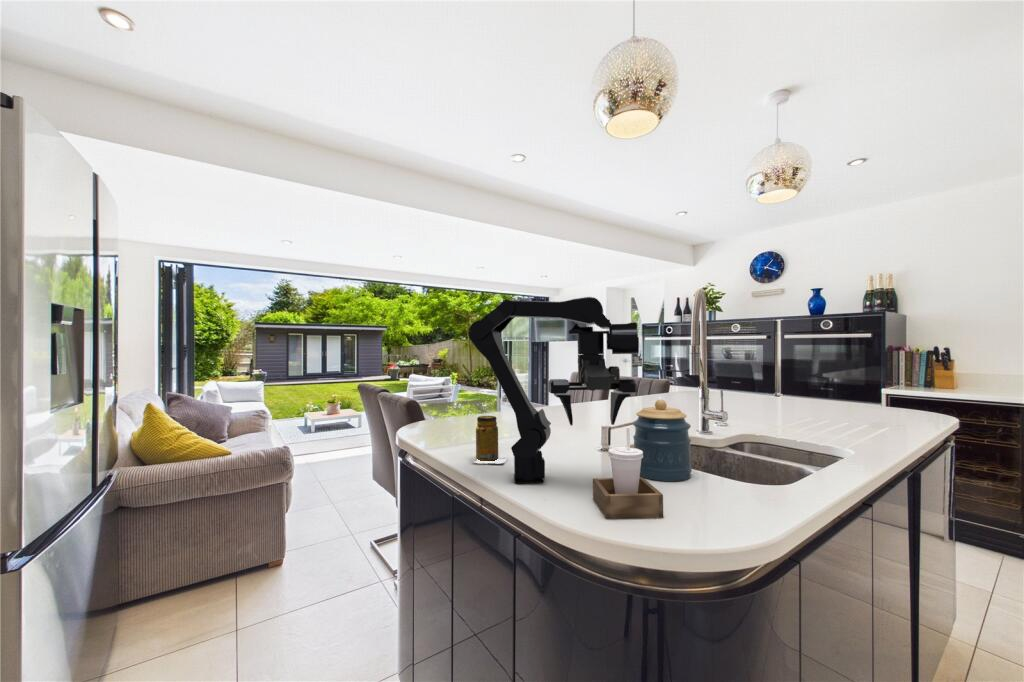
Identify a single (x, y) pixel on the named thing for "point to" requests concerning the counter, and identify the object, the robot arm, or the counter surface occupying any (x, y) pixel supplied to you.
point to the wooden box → (627, 500)
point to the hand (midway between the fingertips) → (591, 424)
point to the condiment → (486, 438)
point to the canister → (663, 443)
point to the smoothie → (626, 467)
